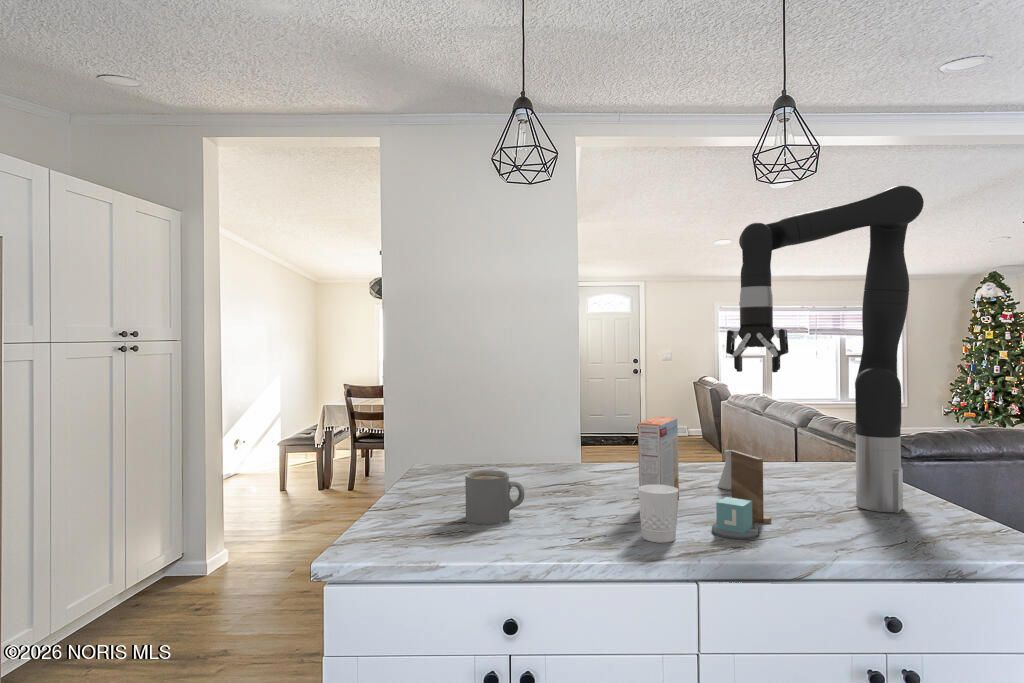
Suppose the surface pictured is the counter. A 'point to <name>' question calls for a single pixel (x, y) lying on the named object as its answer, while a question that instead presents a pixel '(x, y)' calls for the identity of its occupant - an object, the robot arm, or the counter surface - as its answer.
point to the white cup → (658, 512)
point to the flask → (726, 472)
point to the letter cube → (734, 514)
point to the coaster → (735, 533)
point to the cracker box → (658, 452)
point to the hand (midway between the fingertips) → (756, 371)
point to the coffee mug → (490, 496)
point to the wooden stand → (748, 483)
